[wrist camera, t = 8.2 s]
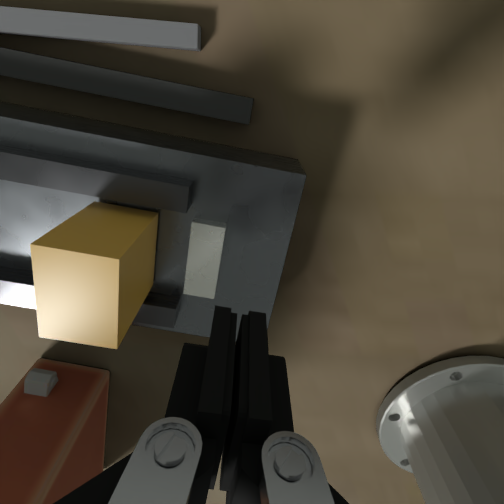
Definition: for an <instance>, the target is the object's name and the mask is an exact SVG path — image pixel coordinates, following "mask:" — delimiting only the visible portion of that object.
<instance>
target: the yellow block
mask: <svg viewBox="0 0 504 504" xmlns="http://www.w3.org/2000/svg"><path fill="white" fill-rule="evenodd" d="M157 226H158V213H157V212H151V211H146V210H140V209H135V208H129V207H124V206H118V205H113V204H107V203H102V202H96V201H94V202H93V203H91V204H90V205H88V206H87V207H85V208H84V209H82V210H81V211H79V212H78V213H76V214H75V215H73V216H72V217H70V218H69V219H67V220H66V221H64V222H63V223H61V224H59V225H58V226H56V227H55V228H53V229H52V230H50V231H49V232H47V233H46V234H44V235H43V236H41V237H40V238H38V239H37V240H35V241H34V242H32V243H31V244H30V249H31V259H32V270H33V280H34V290H35V300H36V311H37V321H38V331H39V337H42V338H48V339H54V340H61V341H67V342H73V343H80V344H86V345H92V346H99V347H105V348H111V349H118V347H119V345H120V343H121V342H122V340H123V338H124V336H125V334H126V333H127V331H128V329H129V327H130V325H131V324H132V322H133V320H134V318H135V316H136V315H137V313H138V311H139V309H140V307H141V306H142V304H143V302H144V300H145V298H146V297H147V295H148V293H149V291H150V289H151V288H152V286H153V280H154V267H155V253H156V240H157Z"/></svg>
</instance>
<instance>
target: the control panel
mask: <svg viewBox="0 0 504 504" xmlns="http://www.w3.org/2000/svg"><path fill="white" fill-rule="evenodd" d="M109 377H110V372H109V371H108V370H104V369H99V368H93V367H88V366H82V365H77V364H71V363H66V362H61V361H55V360H50V359H44V358H40V359H38V360H37V361H36V362H35V364H34V365H33V366H32V367H31V368H30V370H29V371H28V372H27V373H26V375H25V376H24V377H23V378H22V379H21V381H20V382H19V383H18V384H17V385H16V387H15V388H14V389H13V390H12V391H11V393H10V394H9V395H8V396H7V397H6V399H5V400H4V401H3V402H2V403H1V405H0V504H53V503H55V502H56V501H58V500H59V499H61V498H62V497H64V496H65V495H67V494H69V493H70V492H72V491H73V490H75V489H76V488H78V487H80V486H81V485H83V484H84V483H86V482H87V481H89V480H90V479H92V478H94V477H95V476H97V475H98V474H100V473H101V472H103V468H104V452H105V437H106V422H107V407H108V392H109Z"/></svg>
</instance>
